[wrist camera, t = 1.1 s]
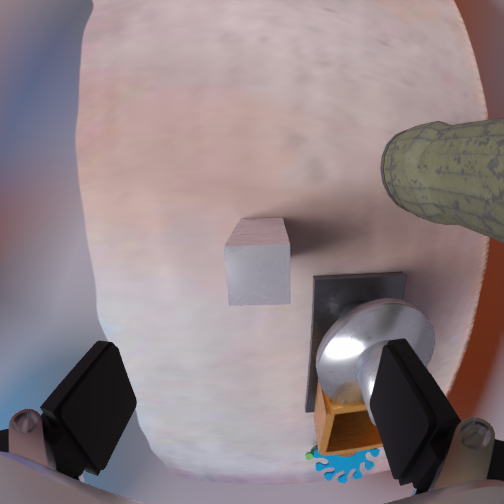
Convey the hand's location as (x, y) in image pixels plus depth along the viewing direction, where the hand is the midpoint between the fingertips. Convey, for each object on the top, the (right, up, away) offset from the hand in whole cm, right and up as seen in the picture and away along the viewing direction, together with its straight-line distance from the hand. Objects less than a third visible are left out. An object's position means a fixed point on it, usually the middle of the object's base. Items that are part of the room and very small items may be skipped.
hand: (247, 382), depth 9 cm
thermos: (+17, +13, +16) cm, 26 cm away
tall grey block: (+1, +6, +19) cm, 20 cm away
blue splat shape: (+14, -24, +27) cm, 38 cm away
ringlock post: (+12, -8, +22) cm, 26 cm away
